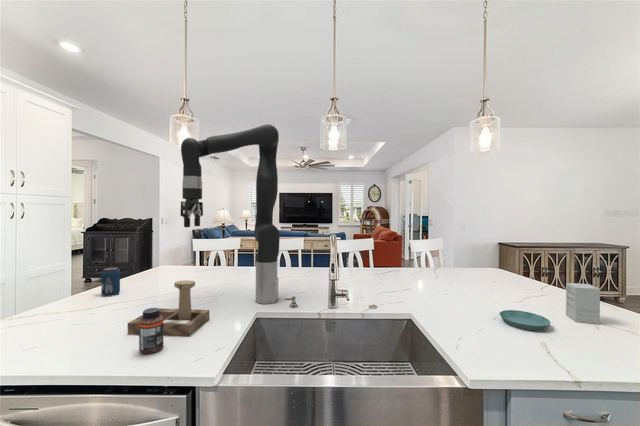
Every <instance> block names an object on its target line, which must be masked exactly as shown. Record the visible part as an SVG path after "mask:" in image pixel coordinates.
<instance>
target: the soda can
mask: <svg viewBox="0 0 640 426" xmlns="http://www.w3.org/2000/svg"><path fill="white" fill-rule="evenodd" d="M100 274H101V276H100V277H101V278H100V279H101V285H100V286H101V288H100V289H101V291H100V292H101V295H102V296H103V297H115V296H117V295H119V293H120V292H121V271H120V269H119V267H118V266H117V267H116V266H115V267H105V268H103V269H102V271H101V273H100Z"/></svg>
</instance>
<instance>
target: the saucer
mask: <svg viewBox="0 0 640 426" xmlns="http://www.w3.org/2000/svg"><path fill="white" fill-rule="evenodd" d="M498 313H499V316H500V317H501V319H503V321H504V322H505V323H507V324H508V325H509V326H512V327H513V328H518V329H522V330H524V331H525V330H526V331H542V330H544V329H546V328H547V327H549V326H550V324H551V321H550V319H549V318H546V316H545V317H544V316H542V315H540V314H537V313H534V312H529V311H523V310H516V309H507V310H505V309H504V310H502V311H500V312H498Z"/></svg>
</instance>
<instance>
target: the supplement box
mask: <svg viewBox="0 0 640 426" xmlns="http://www.w3.org/2000/svg"><path fill="white" fill-rule="evenodd" d="M565 288H566V289H565V298H566V299H565V315H566V316H567V317H568V318H569V319H570V320H572V321H573V322H576V323H583V324H584V323H586V324H595V325H600V324H601V322H600V321H601V318H600V317H601V306H600V305H601V289H600V288H599V287H596V286H594V285H592V284H589V283H578V282H576V283H575V282H566V283H565Z"/></svg>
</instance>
